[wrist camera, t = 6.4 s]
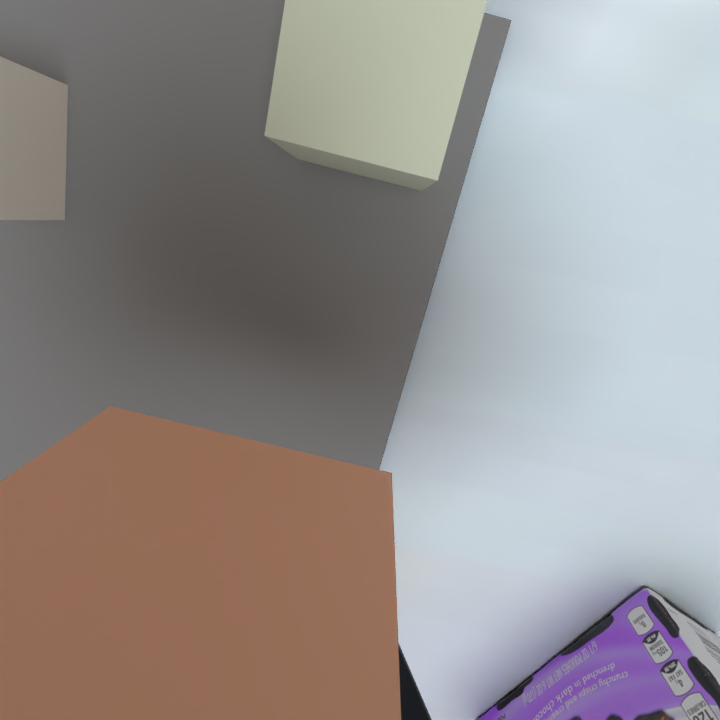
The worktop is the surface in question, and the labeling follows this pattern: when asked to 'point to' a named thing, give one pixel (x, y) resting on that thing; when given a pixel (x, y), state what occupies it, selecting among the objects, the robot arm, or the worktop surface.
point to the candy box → (627, 670)
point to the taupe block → (32, 144)
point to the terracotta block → (195, 580)
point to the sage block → (372, 84)
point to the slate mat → (210, 241)
